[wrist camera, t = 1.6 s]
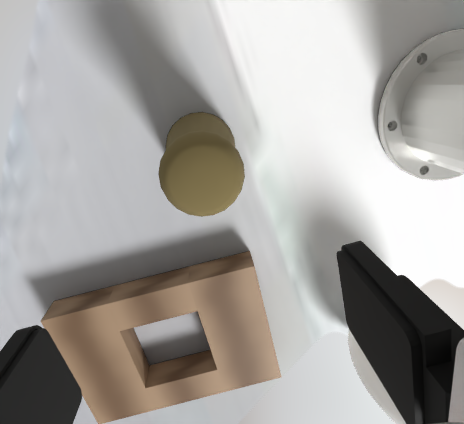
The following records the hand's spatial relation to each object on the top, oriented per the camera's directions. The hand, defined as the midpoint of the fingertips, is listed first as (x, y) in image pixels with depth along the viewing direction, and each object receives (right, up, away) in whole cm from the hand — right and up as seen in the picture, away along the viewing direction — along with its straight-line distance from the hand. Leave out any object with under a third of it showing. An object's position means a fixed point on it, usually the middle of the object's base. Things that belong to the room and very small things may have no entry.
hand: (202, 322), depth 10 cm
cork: (-2, +9, +19) cm, 21 cm away
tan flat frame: (-5, -9, +25) cm, 27 cm away
